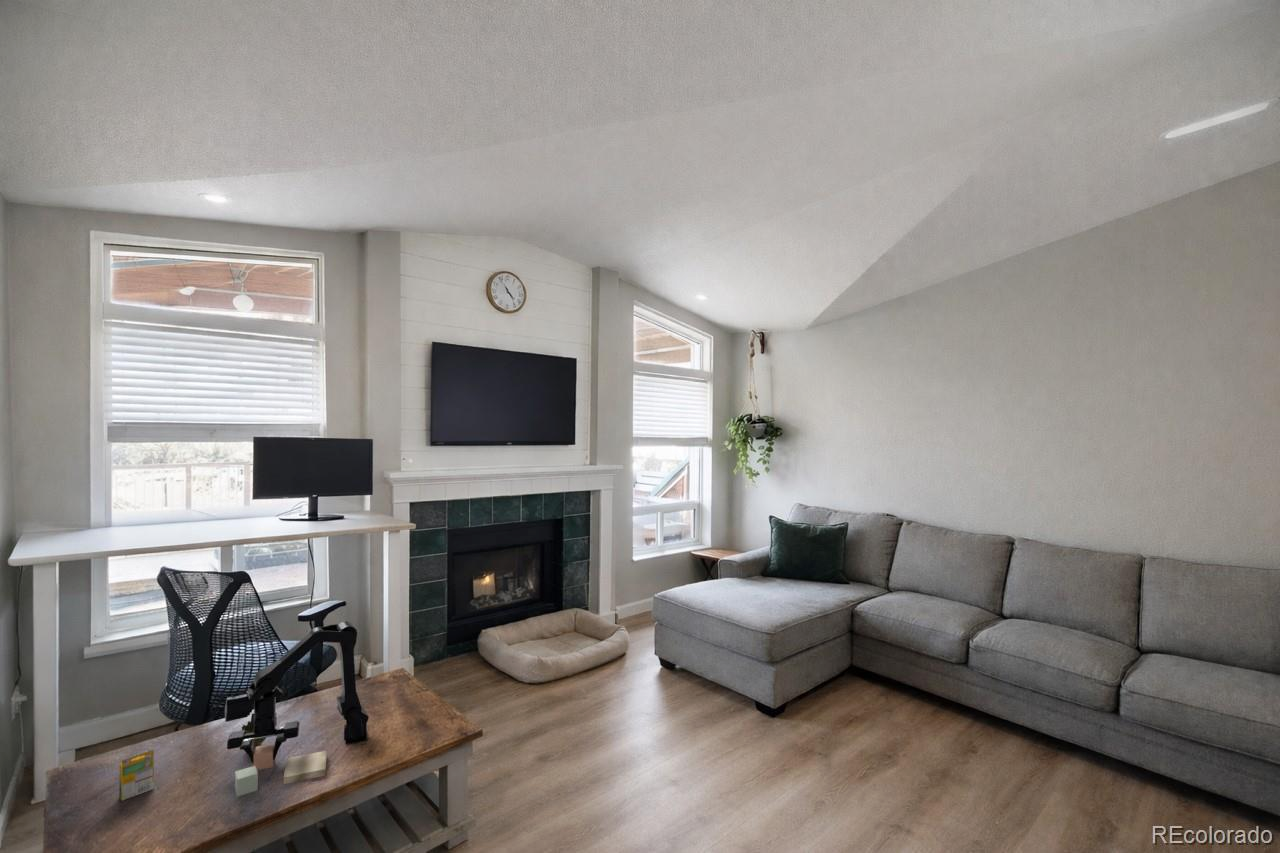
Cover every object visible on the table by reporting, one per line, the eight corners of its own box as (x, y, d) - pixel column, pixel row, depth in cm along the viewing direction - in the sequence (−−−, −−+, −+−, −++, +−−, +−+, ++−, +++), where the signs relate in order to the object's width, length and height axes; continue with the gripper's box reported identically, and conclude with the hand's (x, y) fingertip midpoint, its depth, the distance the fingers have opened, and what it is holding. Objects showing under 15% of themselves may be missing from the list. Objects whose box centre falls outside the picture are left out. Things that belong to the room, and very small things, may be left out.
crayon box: (151, 785, 176) (151, 745, 175) (154, 789, 174) (154, 749, 174) (118, 797, 170) (119, 756, 170) (121, 801, 168) (121, 760, 168)
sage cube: (255, 782, 178) (255, 765, 178) (257, 790, 174) (257, 773, 174) (234, 788, 175) (235, 771, 175) (236, 797, 171) (237, 779, 171)
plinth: (326, 758, 192) (326, 750, 192) (325, 777, 182) (325, 768, 182) (287, 766, 187) (287, 758, 187) (283, 785, 177) (283, 777, 177)
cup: (255, 756, 192) (255, 731, 192) (235, 752, 193) (236, 728, 193) (273, 743, 199) (274, 719, 199) (254, 740, 200) (255, 717, 200)
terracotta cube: (274, 759, 190) (274, 743, 190) (272, 767, 186) (272, 751, 186) (255, 762, 188) (256, 746, 188) (253, 771, 183) (253, 754, 183)
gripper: (301, 695, 198) (300, 742, 198) (234, 706, 190) (233, 754, 190) (298, 710, 188) (297, 760, 188) (227, 722, 180) (226, 774, 180)
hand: (264, 761), depth 187 cm, fingers closed on terracotta cube, 5 cm apart
